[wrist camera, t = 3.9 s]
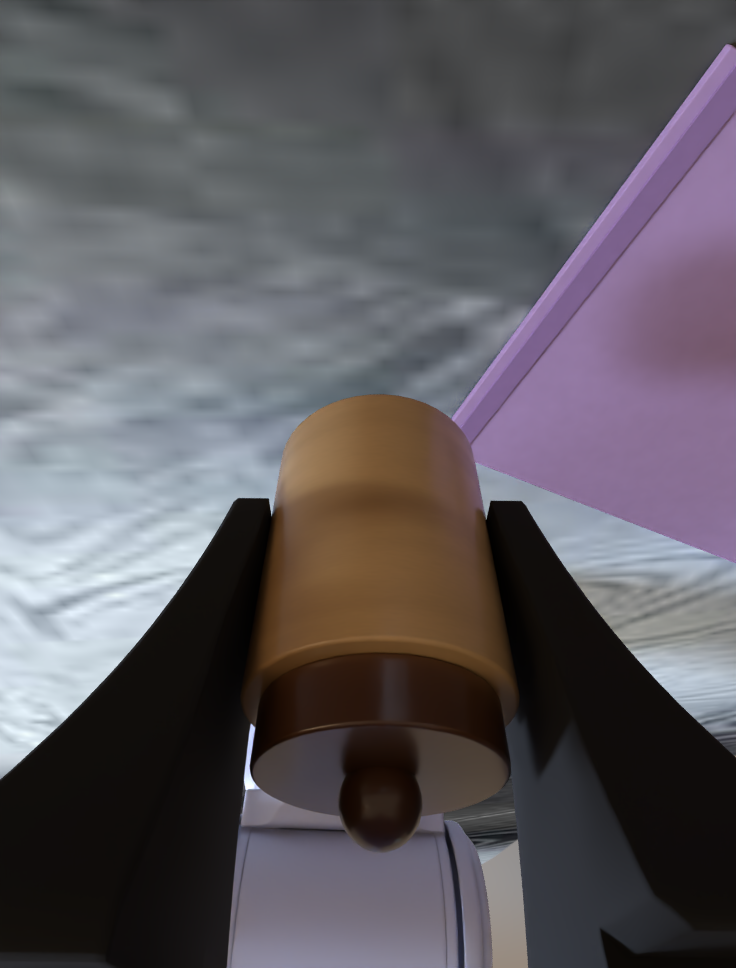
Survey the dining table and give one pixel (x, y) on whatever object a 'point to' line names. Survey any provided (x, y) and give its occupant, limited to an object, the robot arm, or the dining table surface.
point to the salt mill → (379, 625)
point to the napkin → (636, 345)
